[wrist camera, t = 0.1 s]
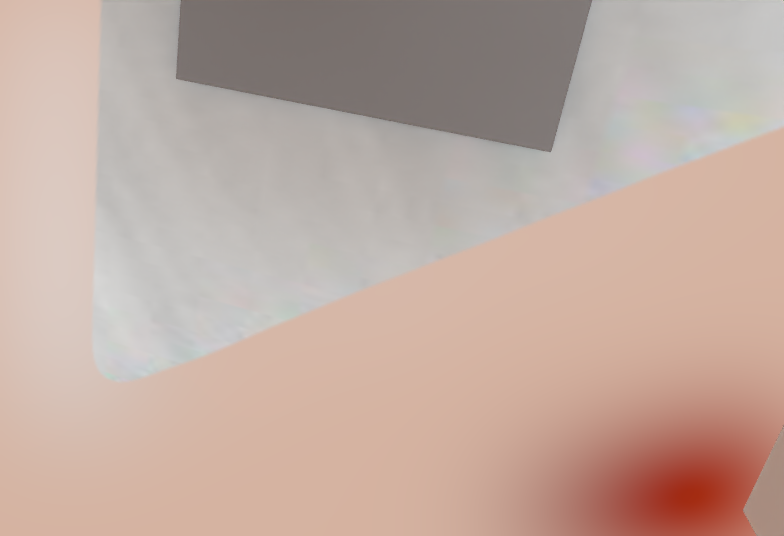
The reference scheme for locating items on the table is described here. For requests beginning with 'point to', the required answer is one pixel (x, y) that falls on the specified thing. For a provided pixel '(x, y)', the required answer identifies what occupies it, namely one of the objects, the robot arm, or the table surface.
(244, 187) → the table surface
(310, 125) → the table surface
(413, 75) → the mat
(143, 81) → the table surface
